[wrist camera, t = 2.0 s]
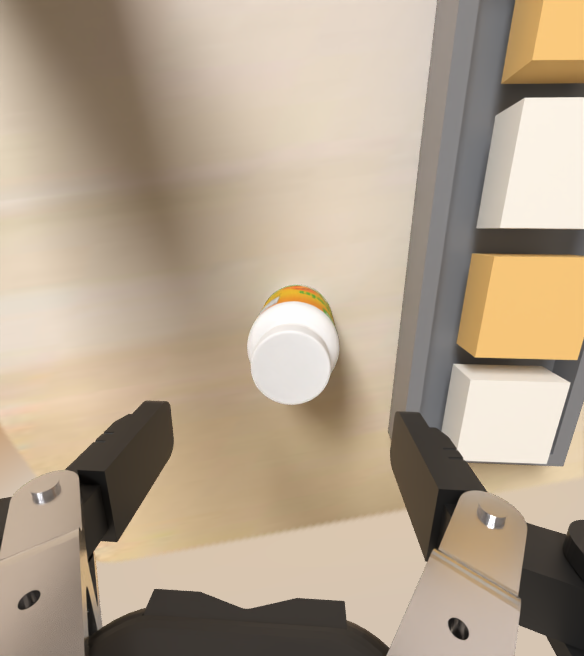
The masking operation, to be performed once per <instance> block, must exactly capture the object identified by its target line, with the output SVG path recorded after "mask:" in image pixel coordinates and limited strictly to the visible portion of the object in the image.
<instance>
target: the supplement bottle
mask: <svg viewBox="0 0 584 656" xmlns="http://www.w3.org/2000/svg"><path fill="white" fill-rule="evenodd" d="M247 352H248V357H249V361H250V363H251V374H252V378H253V380H254V383H255V384H256V386H257V388H258V389H259V390H260V391H261V392H262V393H263V394H264V395H265V396H266V397H268V398H269V399H271V400H273V401H275V402H278V403H281V404H286V405H297V404H302V403H305V402H308V401H310V400H312V399H314V398H315V397H317V396H318V395H319V394H320V393H321V392H322V391H323V390H324V388H325V387H326V385H327V383H328V381H329V378H330V374H331V372H332V371H333V369H334V367H335V365H336V363H337V360H338V356H339V338H338V334H337V330H336V327H335V324H334V320H333V316H332V313H331V309H330V307H329V304H328V302H327V301H326V299H325V298H324V297H323V296H322V295H321V294H320V293H319V292H318V291H316V290H315V289H313V288H311V287H308V286H305V285H289V286H286V287H283V288H281V289H279V290H278V291H276V292H275V293H274V294H273V295H271V296H270V298H269V299H268V300H267V302H266V303H265V305H264V307H263V308H262V310H261V312H260V313H259V315H258V317H257V319H256V320H255V322H254V324H253V326H252V328H251V330H250V333H249V337H248V341H247Z"/></svg>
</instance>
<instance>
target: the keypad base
mask: <svg viewBox="0 0 584 656" xmlns="http://www.w3.org/2000/svg"><path fill="white" fill-rule="evenodd" d="M514 5H515V0H437V8H436V17H435V25H434V34H433V43H432V52H431V60H430V69H429V78H428V87H427V95H426V104H425V113H424V122H423V130H422V139H421V148H420V157H419V165H418V174H417V183H416V192H415V200H414V209H413V218H412V227H411V235H410V244H409V253H408V262H407V270H406V279H405V288H404V297H403V305H402V314H401V323H400V332H399V340H398V349H397V358H396V367H395V375H394V384H393V393H392V402H391V410H390V419H389V428H388V433H389V436H390V438H391V440H392V431H393V423H394V416H395V413H396V412H397V411H405V412H419V413H420V414H421V415H422V417H423V418H424V420H425V421H426V423H427V425H428V426H429V427H436V428H437V429H439V430H440V431H442V425H443V419H444V413H445V408H446V402H447V396H448V390H449V384H450V378H451V373H452V367H453V364H479V365H517V366H542V367H544V368H546V369H548V370H549V371H551V372H553V373H555V374H556V375H558V376H560V377H562V378H563V379H565V380H567V381H568V382H570V387H569V390H568V393H567V397H566V400H565V404H564V407H563V410H562V414H561V417H560V421H559V424H558V427H557V431H556V434H555V438H554V441H553V444H552V448H551V451H550V455H549V458H548V461H547V464H534V463H508V462H483V461H466V462H467V463H491V464H517V465H542V466H563V465H564V462H565V459H566V456H567V453H568V450H569V446H570V443H571V440H572V437H573V434H574V430H575V427H576V424H577V421H578V418H579V414H580V411H581V408H582V405H583V402H584V339H583V342H582V346H581V349H580V353H579V356H578V359H577V360H554V359H515V358H477V357H474V356H472V355H471V354H470V353H468V352H467V351H466V350H464V349H463V348H462V347H460V346H459V345H458V344H456V343H457V338H458V332H459V326H460V320H461V314H462V308H463V303H464V297H465V291H466V285H467V279H468V273H469V268H470V262H471V256H472V253H477V254H555V255H580V256H584V229H490V228H476V227H477V221H478V215H479V209H480V203H481V198H482V192H483V186H484V180H485V174H486V168H487V163H488V157H489V151H490V145H491V139H492V134H493V128H494V122H495V116H496V115H498V114H499V113H501V112H502V111H504V110H506V109H507V108H509V107H511V106H512V105H514V104H515V103H517V102H519V101H520V100H522V99H524V98H557V97H584V83H554V84H501V81H502V75H503V69H504V64H505V58H506V52H507V46H508V40H509V34H510V29H511V23H512V17H513V11H514Z"/></svg>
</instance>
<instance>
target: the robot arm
mask: <svg viewBox="0 0 584 656" xmlns="http://www.w3.org/2000/svg"><path fill="white" fill-rule="evenodd" d="M173 444H174V437H173V427H172V418H171V408H170V404H169V403H168V402H167V401H145V402H143V403H142V404H141V405H140V406H139V407H138V408H137V409H136V411H135V412H134V413H133V414H128V415H126V416H124V417H123V418H121V419H119V420H117V421H115V422H114V423H113V424H112V425H111V426H110V427H109V428H108V429H107V430H106V431H105V432H104V434H102V435H100V436H99V437H98V438H97V439H96V442H93V443H92V444H91V445H90V446H89V447H88V448H87V449H86V450H85V451H84V452H83V453H82V454H81V455H80V456H79V457H78V458H77V459H76V460H75V461H74V462H73V463H72V464H70V465H69V466H68V467H67V468H66V469H65V470H60V471H54V472H50V473H46V474H44V475H41V476H39V477H37V478H35V479H33V480H31V481H29V482H28V483H26V484H25V485H23V486H22V487H21V488H20V489H19V490H18V491H16V493H15V494H14V495H13V496H12V497H8V498H2V499H0V656H514V655H515V648H516V640H517V632H518V625H520V626H523V627H525V628H528V629H530V630H533V631H535V632H538V633H540V634H543V635H546V636H547V639H548V641H549V642H550V644H551V646H552V648H553V650H554V651H555V653H556V655H557V656H584V520H578V521H574V522H572V523H571V524H570V526H569V529H568V532H567V535H566V534H562V533H559V532H555V531H552V530H549V529H545V528H542V527H538V526H535V525H532V524H529V523H526V521H525V519H524V517H523V516H522V515H521V513H520V512H519V511H518V510H517V509H516V508H515V507H514V506H512V505H511V504H510V503H509V502H507V501H505V500H504V499H502V498H500V497H498V496H496V495H494V494H491V493H488V492H487V491H486V489H485V488H484V487H483V485H482V484H481V482H480V481H479V479H478V478H477V477H476V475H475V474H474V472H473V471H472V469H471V468H470V467H469V465H468V464H467V462H466V461H465V460H463V457H462V455H461V454H460V452H459V451H458V450H457V448H456V447H455V445H454V444H453V442H452V441H451V439H450V438H449V437H448V436H447V435H445V434H444V433H443V432H441V431H440V430H439V429H437V428H436V427H429V426H428V425H427V423H426V421H425V420H424V418H423V417H422V415H421V414H420V413H419V412H405V411H397V412H396V413H395V416H394V423H393V431H392V440H391V448H390V460H391V466H392V470H393V472H394V475H395V478H396V481H397V484H398V486H399V489H400V492H401V495H402V497H403V500H404V503H405V506H406V508H407V511H408V514H409V517H410V519H411V522H412V525H413V528H414V531H415V533H416V536H417V539H418V542H419V544H420V547H421V550H422V553H423V555H424V558H425V561H427V564H426V567H425V569H424V571H423V573H422V576H421V578H420V580H419V582H418V585H417V587H416V589H415V592H414V594H413V596H412V599H411V601H410V603H409V605H408V608H407V610H406V612H405V615H404V617H403V619H402V621H401V624H400V626H399V628H398V631H397V633H396V635H395V637H394V640H393V642H392V644H391V647H390V648H389V647H388V646H387V645H385V644H384V643H383V642H382V641H381V640H380V639H379V638H377V637H376V636H374V635H373V634H372V633H370V632H369V631H367V630H366V629H364V628H362V627H360V626H358V625H356V624H354V623H352V622H349V621H347V620H346V612H345V602H344V601H332V600H317V599H302V598H296V599H292V600H287V601H282V602H278V603H274V604H270V605H265V606H260V607H256V608H251V609H243V608H240V607H237V606H235V605H232V604H229V603H227V602H224V601H222V600H220V599H217V598H215V597H212V596H209V595H207V594H204V593H202V592H193V591H178V590H162V589H154V591H153V593H152V596H151V598H150V600H149V603H148V605H147V607H146V608H144V609H140V610H137V611H134V612H131V613H128V614H126V615H124V616H122V617H120V618H118V619H116V620H114V621H112V622H111V623H109V624H107V625H106V626H104V627H102V620H101V609H100V599H99V589H98V579H97V568H96V558H95V553H94V550H95V548H96V547H97V546H98V544H99V543H100V541H109V542H118V540H119V539H120V537H121V535H122V534H123V532H124V530H125V529H126V527H127V526H128V524H129V522H130V521H131V519H132V518H133V516H134V514H135V513H136V511H137V510H138V508H139V506H140V505H141V503H142V501H143V500H144V498H145V497H146V495H147V493H148V492H149V490H150V489H151V487H152V485H153V484H154V482H155V481H156V479H157V477H158V476H159V474H160V472H161V471H162V469H163V468H164V466H165V464H166V463H167V461H168V460H169V458H170V456H171V453H172V450H173Z"/></svg>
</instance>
